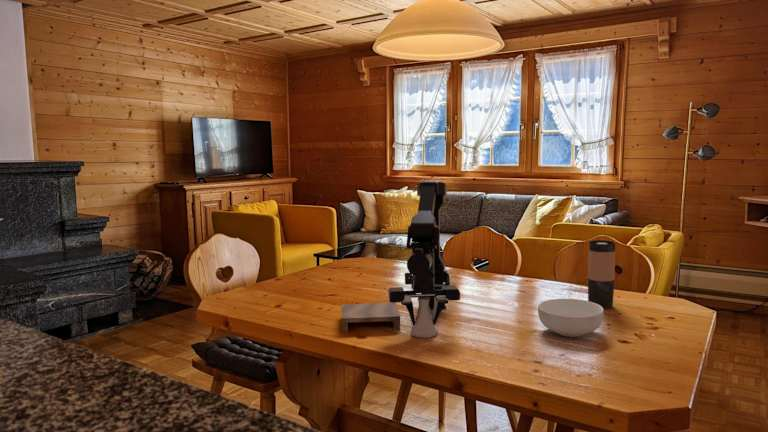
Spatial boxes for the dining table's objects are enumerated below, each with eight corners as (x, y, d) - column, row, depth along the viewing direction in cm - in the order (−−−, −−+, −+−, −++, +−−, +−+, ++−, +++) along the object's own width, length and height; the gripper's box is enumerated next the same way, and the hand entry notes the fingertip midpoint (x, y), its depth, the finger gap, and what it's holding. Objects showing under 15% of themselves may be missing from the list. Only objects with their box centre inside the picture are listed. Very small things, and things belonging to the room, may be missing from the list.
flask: (429, 340, 149) (429, 303, 147) (405, 336, 152) (405, 299, 151) (442, 332, 155) (441, 296, 154) (418, 328, 159) (418, 293, 157)
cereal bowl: (531, 322, 162) (531, 298, 161) (590, 322, 162) (591, 297, 161) (546, 343, 145) (546, 316, 144) (612, 342, 145) (613, 315, 144)
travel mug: (617, 305, 178) (619, 241, 175) (607, 310, 172) (609, 245, 170) (593, 301, 183) (595, 239, 180) (583, 306, 177) (584, 242, 175)
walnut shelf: (395, 315, 171) (395, 302, 171) (400, 330, 157) (400, 316, 157) (342, 317, 170) (341, 304, 169) (342, 332, 156) (341, 318, 156)
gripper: (452, 260, 160) (452, 314, 162) (386, 263, 159) (387, 317, 161) (460, 269, 149) (460, 327, 151) (389, 271, 148) (390, 330, 150)
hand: (423, 325), depth 153 cm, fingers closed on flask, 5 cm apart
